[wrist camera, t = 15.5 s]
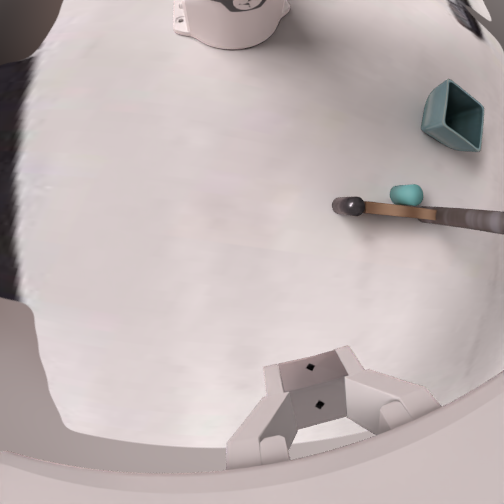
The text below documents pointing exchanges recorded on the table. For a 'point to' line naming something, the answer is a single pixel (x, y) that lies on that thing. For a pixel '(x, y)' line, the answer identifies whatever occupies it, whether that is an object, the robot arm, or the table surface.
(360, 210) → the hinge post
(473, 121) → the flower pot
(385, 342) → the table surface
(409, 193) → the post
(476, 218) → the brown board with post
